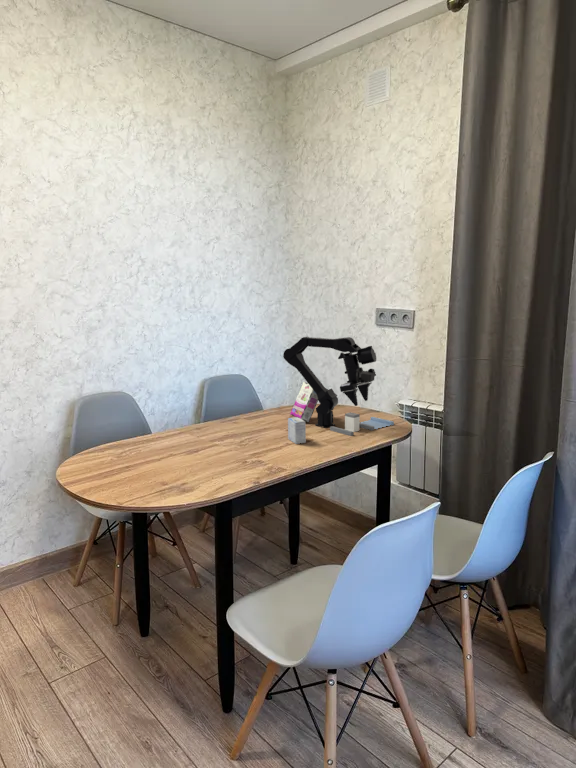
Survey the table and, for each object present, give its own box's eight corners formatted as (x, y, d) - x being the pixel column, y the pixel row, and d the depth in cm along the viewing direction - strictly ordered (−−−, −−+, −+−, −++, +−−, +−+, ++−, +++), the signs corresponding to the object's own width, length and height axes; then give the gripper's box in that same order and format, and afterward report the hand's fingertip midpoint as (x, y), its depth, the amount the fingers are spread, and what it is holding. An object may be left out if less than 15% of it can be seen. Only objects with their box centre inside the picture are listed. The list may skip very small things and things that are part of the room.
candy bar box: (309, 423, 235) (323, 389, 235) (300, 419, 232) (314, 385, 233) (298, 417, 245) (311, 384, 245) (289, 414, 242) (303, 381, 243)
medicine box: (306, 443, 204) (306, 421, 202) (295, 444, 202) (295, 422, 201) (298, 438, 211) (298, 416, 210) (287, 439, 209) (287, 417, 208)
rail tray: (350, 436, 213) (350, 432, 213) (329, 430, 222) (329, 426, 222) (393, 424, 230) (393, 421, 230) (372, 419, 239) (372, 416, 239)
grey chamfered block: (353, 432, 219) (353, 415, 218) (344, 429, 223) (345, 413, 222) (359, 430, 221) (359, 414, 220) (350, 428, 225) (350, 412, 224)
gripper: (359, 367, 209) (368, 405, 210) (379, 359, 224) (388, 395, 225) (335, 372, 215) (344, 409, 216) (356, 364, 230) (365, 399, 231)
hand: (361, 403), depth 222 cm, fingers open, 9 cm apart
